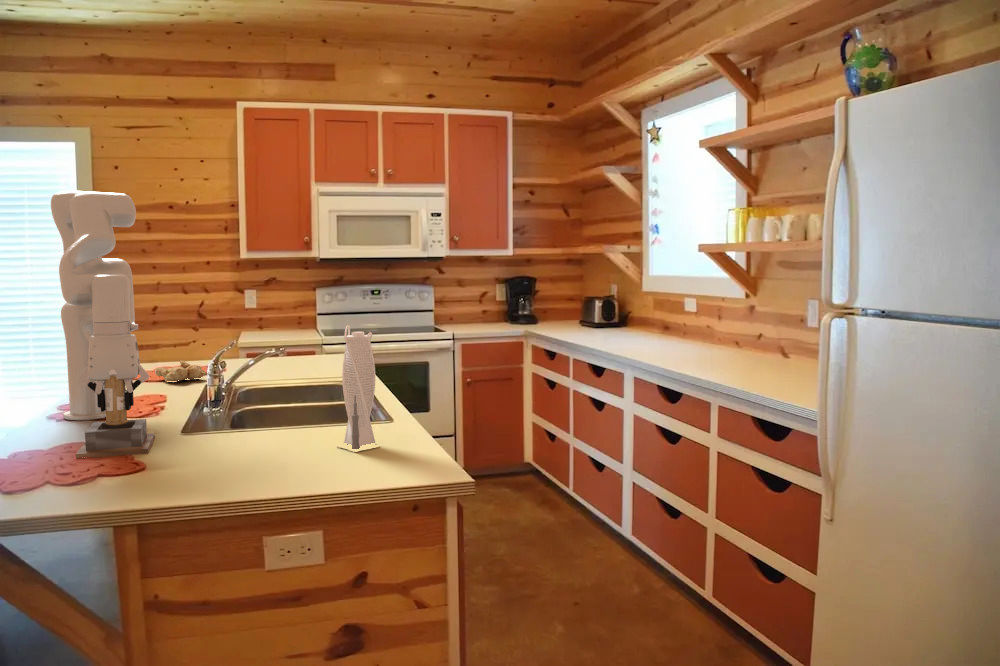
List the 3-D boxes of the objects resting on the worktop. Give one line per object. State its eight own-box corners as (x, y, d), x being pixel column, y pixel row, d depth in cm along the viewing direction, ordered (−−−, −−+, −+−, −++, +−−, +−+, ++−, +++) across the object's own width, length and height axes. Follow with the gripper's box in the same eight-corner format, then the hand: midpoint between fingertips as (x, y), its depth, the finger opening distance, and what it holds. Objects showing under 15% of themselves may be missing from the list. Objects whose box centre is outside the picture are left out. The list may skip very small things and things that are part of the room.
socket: (89, 443, 175) (88, 420, 174) (155, 438, 180) (154, 416, 179) (76, 460, 160) (74, 435, 159) (147, 455, 165) (146, 430, 164)
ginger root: (212, 378, 257) (205, 356, 256) (164, 393, 250) (157, 370, 248) (205, 374, 271) (198, 353, 269) (159, 388, 263) (152, 366, 262)
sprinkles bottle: (129, 424, 169) (126, 365, 167) (106, 426, 166) (103, 366, 165) (126, 420, 172) (123, 362, 171) (104, 422, 170) (101, 364, 168)
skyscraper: (333, 446, 172) (331, 325, 169) (361, 440, 178) (360, 323, 175) (355, 453, 166) (353, 327, 163) (384, 446, 172) (383, 325, 169)
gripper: (155, 327, 173) (158, 404, 175) (73, 329, 168) (77, 409, 170) (151, 330, 166) (155, 410, 168) (66, 332, 161) (70, 415, 163)
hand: (116, 409), depth 169 cm, fingers closed on sprinkles bottle, 4 cm apart
